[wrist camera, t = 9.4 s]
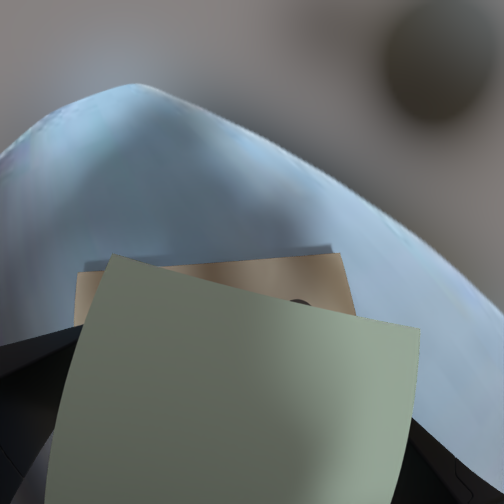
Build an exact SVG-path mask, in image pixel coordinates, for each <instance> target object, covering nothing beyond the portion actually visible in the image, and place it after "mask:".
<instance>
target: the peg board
mask: <svg viewBox="0 0 504 504" xmlns="http://www.w3.org/2000/svg"><path fill="white" fill-rule="evenodd" d="M161 268H164V269H168V270H171V271H175V272H179V273H182V274H186V275H189V276H193V277H197V278H200V279H204V280H208V281H212V282H215V283H219V284H223V285H227V286H231V287H235V288H239V289H243V290H246V291H250V292H254V293H258V294H262V295H267V296H271V297H275V298H279V299H283V300H287V301H291V302H296V303H300V304H304V305H309V306H313V307H317V308H322V309H326V310H331V311H335V312H340V313H344V314H349V315H354V316H356V313H355V308H354V304H353V300H352V296H351V292H350V288H349V284H348V281H347V277H346V273H345V269H344V266H343V262H342V258H341V255H340V253H331V254H319V255H307V256H295V257H283V258H270V259H257V260H245V261H232V262H219V263H205V264H192V265H178V266H165V267H161ZM103 274H104V271H93V272H78V275H77V285H76V296H75V311H74V327H75V326H79V325H82V324H84V322H85V319H86V317H87V314H88V311H89V308H90V306H91V303H92V301H93V298H94V295H95V293H96V290H97V288H98V286H99V283H100V281H101V278H102V276H103Z"/></svg>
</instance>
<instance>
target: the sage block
mask: <svg viewBox="0 0 504 504" xmlns="http://www.w3.org/2000/svg"><path fill="white" fill-rule="evenodd" d="M419 346H420V329H419V328H414V327H408V326H403V325H398V324H393V323H388V322H383V321H378V320H373V319H368V318H363V317H359V316H354V315H349V314H344V313H340V312H335V311H331V310H326V309H322V308H317V307H313V306H309V305H304V304H300V303H296V302H291V301H287V300H283V299H279V298H275V297H271V296H267V295H262V294H258V293H254V292H250V291H246V290H243V289H239V288H235V287H231V286H227V285H223V284H219V283H215V282H212V281H208V280H204V279H200V278H197V277H193V276H189V275H186V274H182V273H179V272H175V271H171V270H168V269H164V268H161V267H157V266H154V265H150V264H147V263H143V262H140V261H137V260H133V259H130V258H126V257H123V256H120V255H116V254H113V253H112V255H111V258H110V260H109V262H108V264H107V267H106V269H105V271H104V274H103V276H102V278H101V281H100V283H99V286H98V288H97V290H96V293H95V295H94V298H93V301H92V303H91V306H90V308H89V311H88V314H87V317H86V319H85V322H84V325H83V328H82V331H81V333H80V336H79V339H78V342H77V345H76V349H75V352H74V355H73V358H72V361H71V365H70V368H69V372H68V375H67V379H66V382H65V386H64V390H63V394H62V398H61V402H60V406H59V410H58V415H57V419H56V424H55V429H54V434H53V439H52V445H51V451H50V457H49V464H48V471H47V480H46V489H45V502H44V504H390V503H391V500H392V497H393V494H394V491H395V487H396V484H397V480H398V477H399V473H400V469H401V465H402V461H403V457H404V453H405V448H406V444H407V439H408V434H409V429H410V423H411V418H412V411H413V405H414V398H415V390H416V382H417V372H418V361H419Z"/></svg>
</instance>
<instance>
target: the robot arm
mask: <svg viewBox="0 0 504 504" xmlns="http://www.w3.org/2000/svg"><path fill="white" fill-rule="evenodd" d="M83 325H84V324H82V325H79V326H75V327H71V328H68V329H64V330H61V331H57V332H53V333H50V334H46V335H42V336H38V337H35V338H31V339H27V340H23V341H20V342H16V343H12V344H8V345H4V346H0V504H10V503H11V501H12V499H13V497H14V495H15V494H16V492H17V490H18V488H19V486H20V485H21V483H22V481H23V479H24V477H25V476H26V474H27V472H28V470H29V469H30V467H31V465H32V464H33V462H34V460H35V459H36V457H37V455H38V454H39V452H40V451H41V449H42V447H43V446H44V444H45V443H46V441H47V439H48V438H49V436H50V435H51V433H52V431H53V430H54V428H55V424H56V419H57V415H58V410H59V406H60V402H61V398H62V394H63V390H64V386H65V382H66V379H67V375H68V372H69V368H70V365H71V361H72V358H73V355H74V352H75V349H76V345H77V342H78V339H79V336H80V333H81V331H82V328H83ZM390 504H504V494H503V493H501V492H500V491H498V490H497V489H496V488H494V487H493V486H491V485H490V484H489V483H487V482H486V481H484V480H483V479H482V478H480V477H479V476H478V475H476V474H475V473H474V472H472V471H471V470H470V469H469V468H468V467H466V466H465V465H464V464H463V463H462V462H461V461H460V460H459V459H457V458H455V456H454V455H453V454H452V453H451V452H450V451H448V450H447V449H446V448H445V447H444V446H443V445H442V444H441V443H440V442H438V441H437V440H436V439H435V438H434V437H433V436H432V435H431V434H430V433H428V432H427V431H426V430H425V429H424V428H423V427H422V426H421V425H420V424H419V423H417V422H416V421H415V420H414V419H413V418H411V423H410V429H409V434H408V439H407V444H406V448H405V453H404V457H403V461H402V465H401V469H400V473H399V477H398V480H397V484H396V487H395V491H394V494H393V497H392V500H391V503H390Z"/></svg>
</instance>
